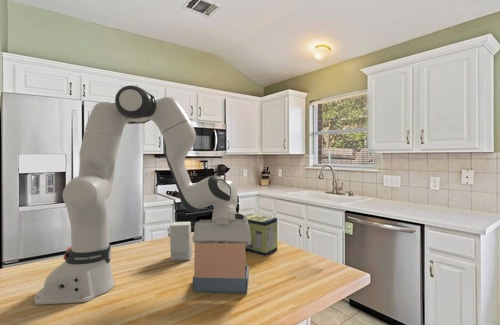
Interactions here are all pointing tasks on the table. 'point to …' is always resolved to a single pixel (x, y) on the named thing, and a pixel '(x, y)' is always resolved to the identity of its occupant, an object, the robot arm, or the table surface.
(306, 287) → the table surface
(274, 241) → the protein box
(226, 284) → the mailer
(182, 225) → the skincare box
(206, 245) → the lid
